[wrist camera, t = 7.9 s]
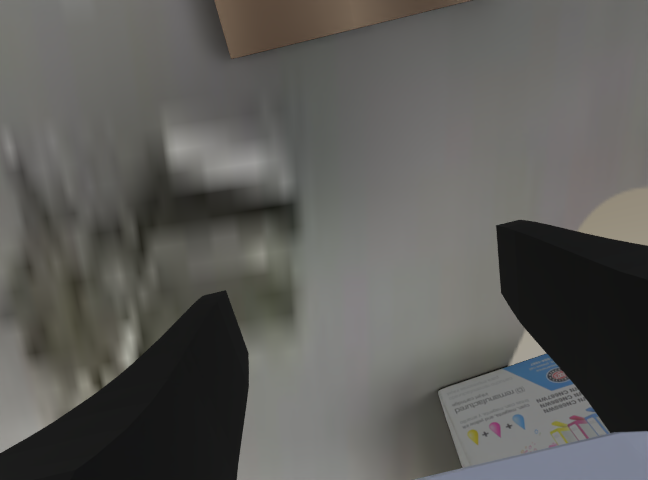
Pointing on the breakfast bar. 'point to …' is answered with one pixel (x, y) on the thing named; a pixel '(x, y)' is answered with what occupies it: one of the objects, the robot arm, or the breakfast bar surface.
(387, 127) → the breakfast bar surface
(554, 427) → the ink box
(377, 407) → the breakfast bar surface
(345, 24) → the walnut base
